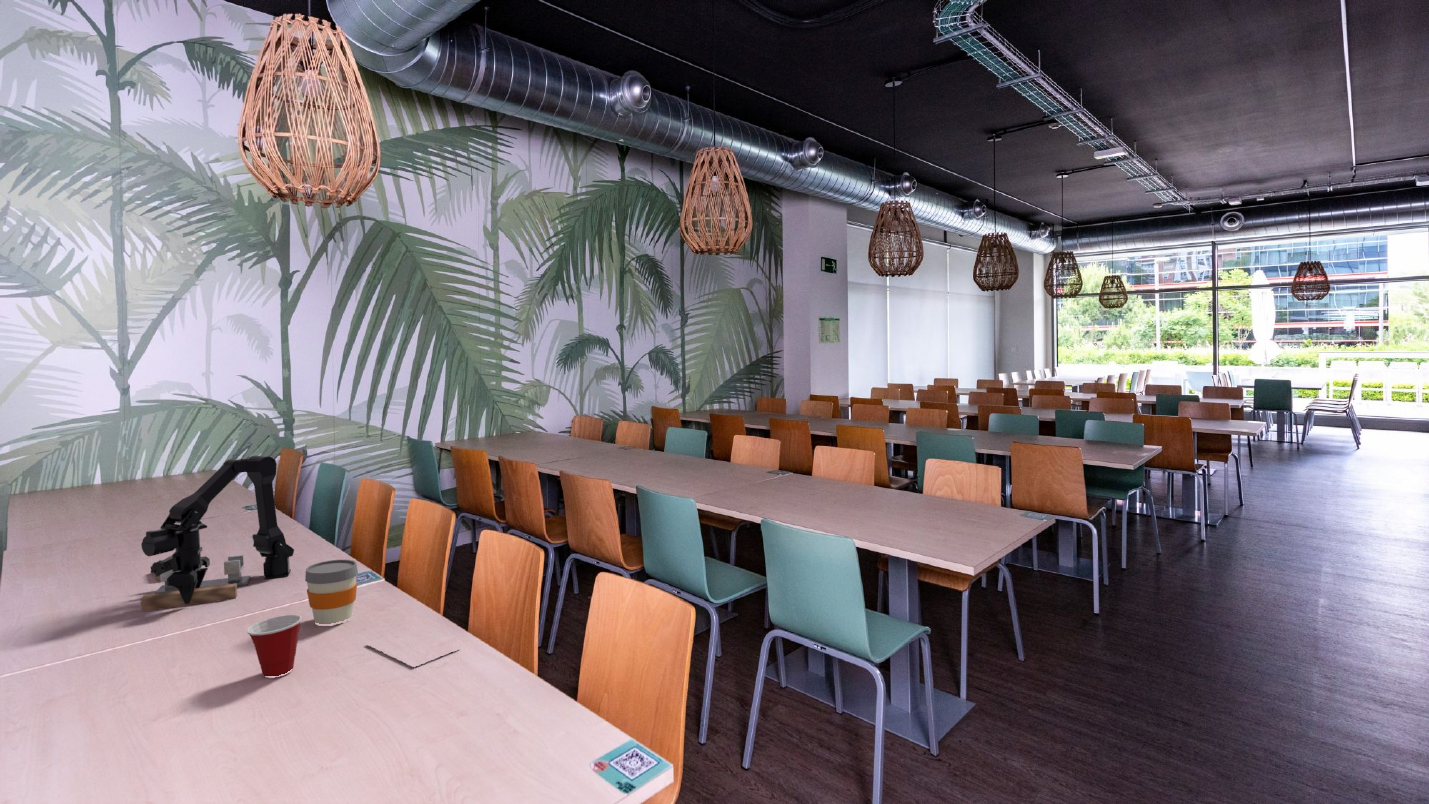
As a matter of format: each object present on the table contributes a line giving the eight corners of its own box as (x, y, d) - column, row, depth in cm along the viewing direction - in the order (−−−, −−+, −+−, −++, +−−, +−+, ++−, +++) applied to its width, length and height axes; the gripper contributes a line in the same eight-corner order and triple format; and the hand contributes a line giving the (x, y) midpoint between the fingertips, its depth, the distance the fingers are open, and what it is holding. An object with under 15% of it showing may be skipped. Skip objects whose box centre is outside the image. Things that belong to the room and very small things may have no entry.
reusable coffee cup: (370, 614, 194) (368, 561, 193) (332, 632, 182) (329, 575, 181) (335, 609, 198) (333, 557, 197) (295, 625, 186) (293, 570, 185)
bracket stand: (250, 578, 224) (249, 554, 223) (246, 585, 218) (244, 560, 217) (162, 588, 215) (160, 563, 214) (154, 595, 208) (153, 569, 208)
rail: (237, 596, 209) (236, 583, 209) (235, 599, 206) (235, 586, 206) (144, 608, 199) (143, 595, 199) (141, 612, 196) (141, 598, 196)
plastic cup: (265, 663, 164) (262, 613, 163) (313, 661, 165) (311, 612, 164) (237, 685, 153) (235, 632, 152) (289, 683, 154) (287, 630, 153)
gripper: (163, 541, 207) (166, 593, 208) (142, 559, 190) (145, 615, 191) (208, 537, 211) (211, 588, 212) (191, 554, 194) (195, 608, 195)
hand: (190, 599), depth 202 cm, fingers open, 7 cm apart
